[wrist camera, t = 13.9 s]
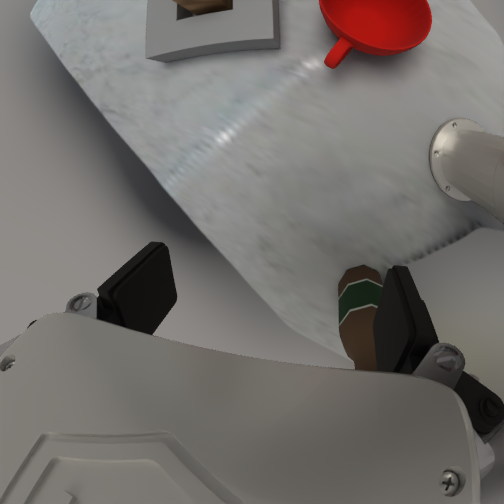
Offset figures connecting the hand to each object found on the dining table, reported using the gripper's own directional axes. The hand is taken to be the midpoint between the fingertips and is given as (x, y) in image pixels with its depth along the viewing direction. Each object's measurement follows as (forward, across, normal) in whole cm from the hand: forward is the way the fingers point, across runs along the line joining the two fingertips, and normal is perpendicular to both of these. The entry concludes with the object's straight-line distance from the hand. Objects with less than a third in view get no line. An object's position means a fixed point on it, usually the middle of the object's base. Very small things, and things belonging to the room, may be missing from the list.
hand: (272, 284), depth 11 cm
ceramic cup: (+31, -7, -20) cm, 37 cm away
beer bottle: (+31, -10, +19) cm, 37 cm away
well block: (+30, +13, -26) cm, 42 cm away
